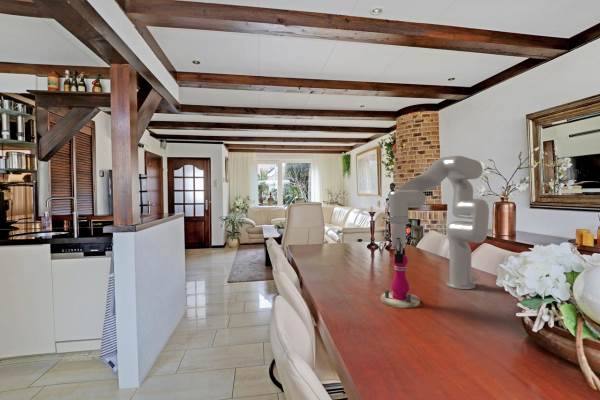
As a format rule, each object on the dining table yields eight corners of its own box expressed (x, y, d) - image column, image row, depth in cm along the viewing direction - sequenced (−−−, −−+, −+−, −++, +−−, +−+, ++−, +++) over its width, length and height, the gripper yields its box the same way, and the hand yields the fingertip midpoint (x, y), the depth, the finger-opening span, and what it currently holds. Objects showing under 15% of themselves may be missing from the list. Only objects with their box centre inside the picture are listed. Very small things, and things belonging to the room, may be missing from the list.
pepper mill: (410, 301, 131) (410, 252, 130) (392, 300, 132) (392, 252, 132) (408, 295, 138) (407, 249, 138) (390, 294, 139) (390, 248, 139)
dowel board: (402, 293, 146) (402, 283, 146) (428, 304, 131) (428, 293, 131) (372, 298, 140) (372, 288, 139) (397, 310, 125) (397, 299, 125)
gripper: (392, 218, 144) (393, 256, 145) (387, 222, 128) (388, 264, 129) (409, 218, 141) (410, 256, 142) (407, 222, 125) (408, 265, 126)
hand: (400, 260), depth 135 cm, fingers open, 9 cm apart
